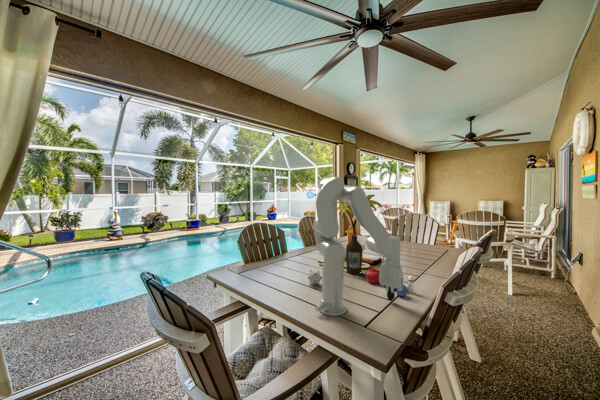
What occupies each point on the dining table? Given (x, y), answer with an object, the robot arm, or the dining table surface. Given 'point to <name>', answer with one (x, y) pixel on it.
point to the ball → (403, 292)
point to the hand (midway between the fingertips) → (390, 299)
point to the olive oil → (354, 256)
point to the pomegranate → (373, 276)
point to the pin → (410, 284)
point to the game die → (314, 277)
